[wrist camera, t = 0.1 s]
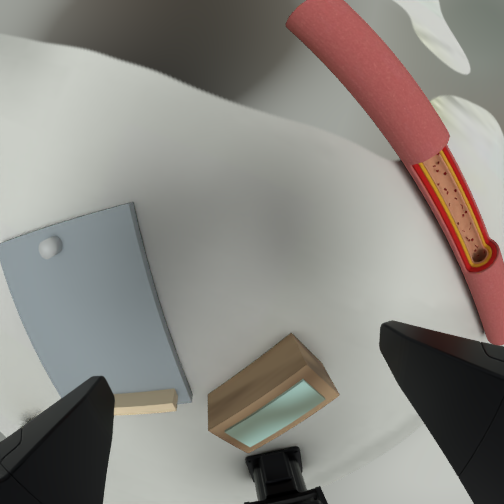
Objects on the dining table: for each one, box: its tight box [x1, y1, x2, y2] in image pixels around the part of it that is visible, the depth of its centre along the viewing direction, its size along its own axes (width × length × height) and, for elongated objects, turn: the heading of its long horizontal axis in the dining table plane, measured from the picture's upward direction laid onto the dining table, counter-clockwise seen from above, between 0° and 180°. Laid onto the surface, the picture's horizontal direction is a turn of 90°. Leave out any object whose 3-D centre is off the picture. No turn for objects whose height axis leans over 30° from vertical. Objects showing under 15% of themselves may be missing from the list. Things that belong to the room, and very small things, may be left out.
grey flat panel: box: [0, 202, 192, 415], centre depth 21 cm, size 18×14×3 cm
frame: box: [208, 333, 339, 453], centre depth 24 cm, size 5×10×5 cm, turn 130°
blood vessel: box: [286, 0, 504, 345], centre depth 22 cm, size 42×5×5 cm, turn 43°
